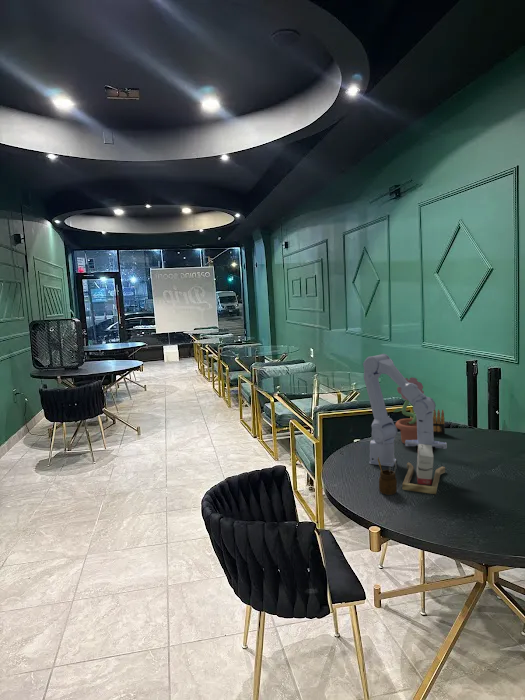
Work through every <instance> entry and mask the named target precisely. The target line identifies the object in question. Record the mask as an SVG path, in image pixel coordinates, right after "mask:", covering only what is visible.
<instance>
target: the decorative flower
mask: <svg viewBox="0 0 525 700" xmlns="http://www.w3.org/2000/svg"><path fill="white" fill-rule="evenodd" d="M404 378H405V379H406V380H407V381H408V382H409V383H413V384H416V385H417V386H418V387H417V388H418V389H419V390H420V391H421V392H422V393H423V394H425V391H424V390H423V389H424V386H423V384H422V382H419V381H418V378H416V377H412V376H411V377H409V379H408V377H404ZM396 390H397V393H398V394H399V395H401V398H402V399H403V400H405V401H404V403H403V405H402V407H401V408H400V407H398V408H396V409H394V410H393V413H398V412H401V414H403V416H406V417H411V418H400V419H399V420H397V421H396V422H395V423H394V425H395V426H396V428H397V430H399V431H400V437H401V438H400V440H401V443H402V444H404V445H405V441H406V440H417V418H416V414H415V412H414V413H413V412H408V411H406V410H407V408H408V406H409V404H410V405H411V406H412V408H413V407H414V406H413V405H412V404H411V403H410V402H409V401H408V399H407V398H406V397H405V396H404V395H403V394H402V393H401V387H400V386H397V388H396Z"/></svg>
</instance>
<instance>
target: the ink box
mask: <svg viewBox="0 0 525 700" xmlns="http://www.w3.org/2000/svg"><path fill="white" fill-rule="evenodd" d="M416 455H417V458H416V479H417V482H416V483H417V484H418V485H426V486H432V483H433V471H434V470H433V468H434V461H435V460H434V454H433V451H432V445H427V444H418V453H417V454H416Z"/></svg>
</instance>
